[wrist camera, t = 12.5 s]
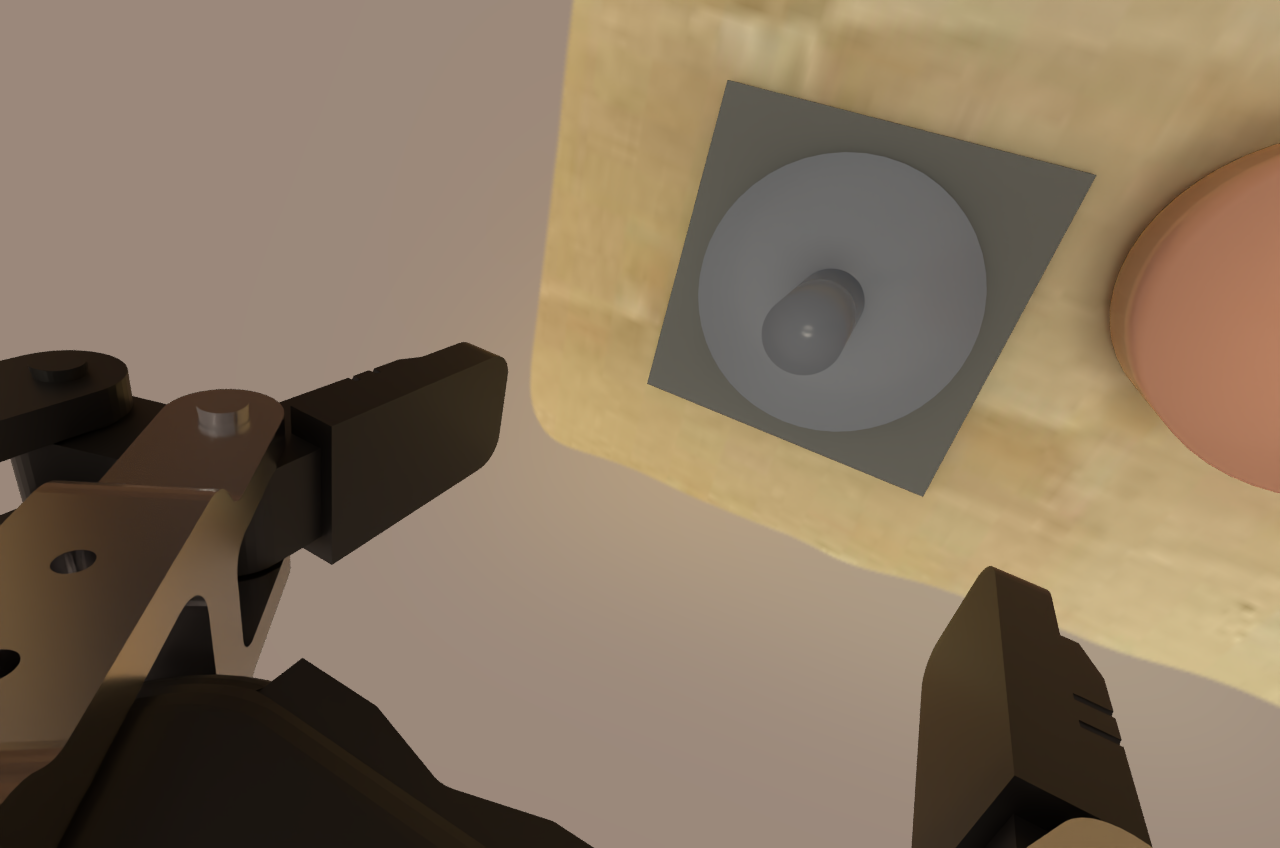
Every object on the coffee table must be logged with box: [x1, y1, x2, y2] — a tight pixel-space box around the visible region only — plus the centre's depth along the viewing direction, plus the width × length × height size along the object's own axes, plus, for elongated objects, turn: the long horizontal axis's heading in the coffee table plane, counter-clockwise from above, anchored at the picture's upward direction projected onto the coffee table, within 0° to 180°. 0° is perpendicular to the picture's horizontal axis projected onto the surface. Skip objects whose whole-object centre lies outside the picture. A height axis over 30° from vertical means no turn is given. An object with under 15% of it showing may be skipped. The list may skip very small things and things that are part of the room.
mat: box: [647, 80, 1096, 497], centre depth 28 cm, size 14×14×1 cm
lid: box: [698, 152, 987, 432], centre depth 25 cm, size 12×12×7 cm
